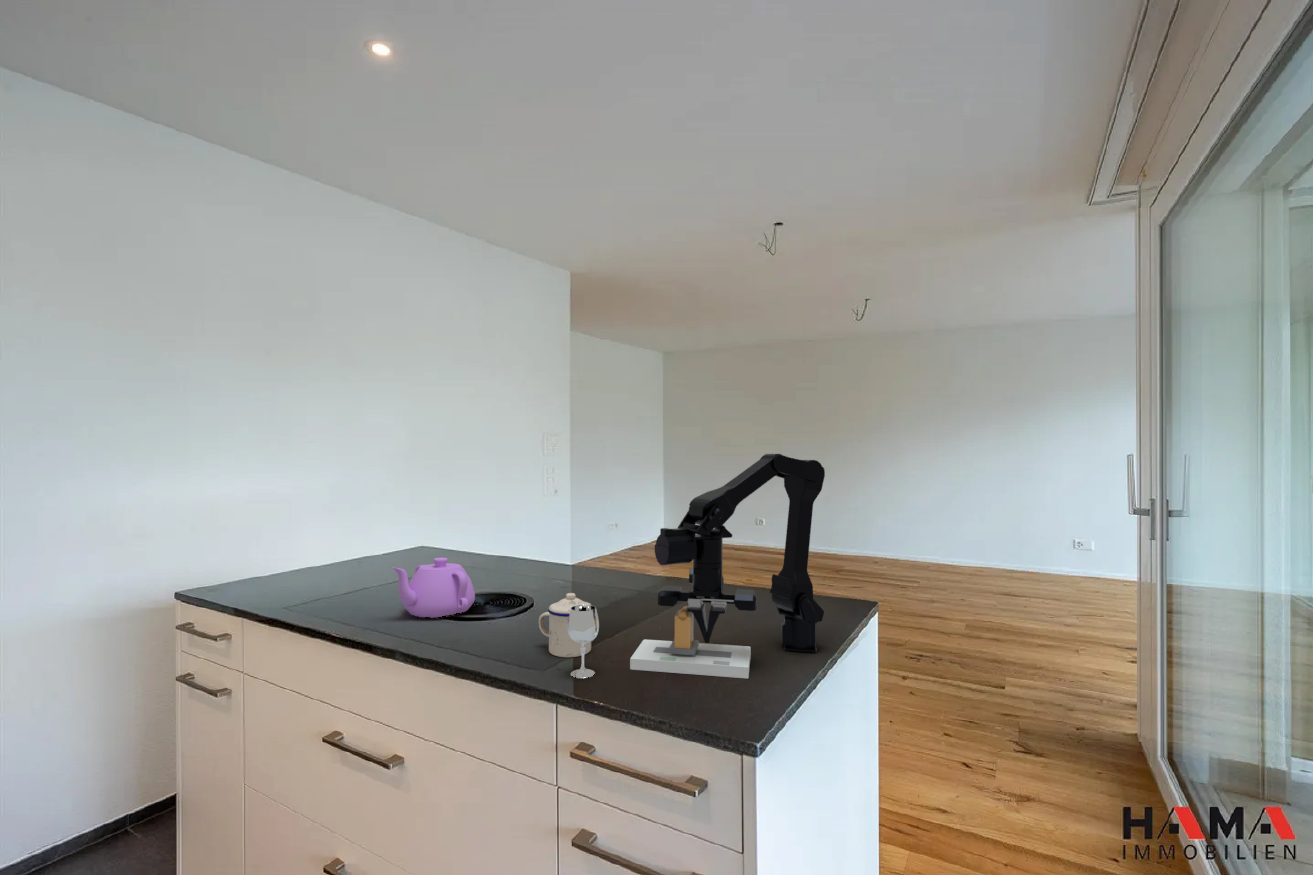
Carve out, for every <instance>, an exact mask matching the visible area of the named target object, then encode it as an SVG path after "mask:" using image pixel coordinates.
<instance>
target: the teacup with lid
mask: <svg viewBox="0 0 1313 875" xmlns="http://www.w3.org/2000/svg"><path fill="white" fill-rule="evenodd" d="M577 605H592V603H590V602H587V601H583V600H582V599H580V598H578V597H577V596H576V594H575V593H574V592H568V593H566V594H565V598H561V599H560V600H559V601H557V602H554V603H552V604H550V605H549V606H548V609H547V611H546V612H543V613H541V614H540V616H539V617H538V627H539V629H540V632H541V633H542V634H543V635H544V636H545V637H548V652H549V653H550V654H551V655H552V656H554V657H555V656H556V657H559V658H577V657H582V656H581V651H580V647H581V645H582V644H581V643H577V642H575V641H573V640H572V639H571V638H570V637H569V634H568V618H569V614H570V610H571V607H573V606H577ZM545 617H549V618H548V619H549V620H548V621H549V622H548V625H549V626H548V630H547V629H546V627H545V624H544V622H545V621H544V619H545ZM585 646H586V651H585V655H586V654H588V653H590V652H591V650H592V641H590V642H588V643H585Z"/></svg>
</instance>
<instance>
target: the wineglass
mask: <svg viewBox="0 0 1313 875" xmlns="http://www.w3.org/2000/svg"><path fill="white" fill-rule="evenodd" d="M599 629H600V621H599V615H598V611H597V607H596V606H595V605H592V604H591V605H577V606H573V607H571V610H570V614H569V618H568V634H569V637H570V638H571V639H572V640H573V641H575V642H577V643H581V644H582V645H581V647H580V651H581V656H580V657H581V665H580V668H579V669H574V670H573V671H571V672H570V677H572V676H573V678H575V677H576V678H575V679H588V677H589V678H591V677H594V676H595V675H596V672H595V671H594V669H593V670H592V669H589V668H586V667H585V666H586V665H585V655H586V654H585V651H586V646H585V643H588V642H590V641H591V642H593V641H594V640H595V639H596V638H597V636H598V634H599ZM594 674H595V675H594ZM593 675H594V676H593Z"/></svg>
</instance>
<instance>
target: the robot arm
mask: <svg viewBox="0 0 1313 875" xmlns="http://www.w3.org/2000/svg"><path fill="white" fill-rule="evenodd" d="M825 474H826V471H825V467H823V465H822V464H821V462H819V461H818V460H817V459H798V458H794V457H789V456H786V455H783V454H781V453H765V454H764V455H762V456H761V457H760V458H759V460H757V461H756V462H754V463H753V464H751V465H750V466H749V467H748V468H747V469H745V470H744V471H742V472H740V473H739V474H738V475H737V476H735V477H733V478H732V479H731V480H729V481H728V482H727V483H725V484H724V485H723V486H721V487H718V488H715V489H711V490H708V491H707V492H703V493H702V494H700V495H697V496H696V497H694V498H693V499H692V500H691V501H689V502H690V503H689V504H688V505H689V506H688V510H687V512H686V514H685V515H684V517H683V518H682V520H681V521H680V523H679V524H678V527H677V528H669V527H661V528H660V532H659V535H658V536H657V538H656V541H655V544H654V556H655V558H656V561H657V563H658V564H659V565H660V566H668V565H669V566H670V565H683V564H690V563H691V562H692V567H690V568H689V571H688V572H689V574H688V584H690V586H691V585H692V591H686V590H683V589H682V586H680V585H679V586H678V585H664V586H663V587H661V589H660V590H659V592H658V594H657V606H659V607H662V606H663V607H675V605H676V604H678V602H687V606H688V608H687V611H688V612H692V613H693V615H694V618H695V620H696V623H697V624H698V627H699V629H700V632H701V635H702V638H703V641H704V643H705V644H710V641H711V638H712V635H713V630H714V628H715V625H716V624H717V621H718V618H719V617H720V614H721V615H722V614H723V615H725V614H726V611H727V608H728V604H729V605H731V604H732V605H734V607H735V608H736V609H737V610H738V611H748V612H749V611H751V612H753V611H756V610H757V592H756V591H755V590H754V589H743V588H742V589H741V588H736V590H735V593H724V590H725V588H724V586H725V585H724V583H725V581H724V580H725V578H724V576H723V539H728V538H729V539H730V538H732V537H733V533H731V532H730V531H729V530H728V529H727V528H726V526H725V525H724V524H725V523H727V521H728V520H729V519H730V518H731V517H732V516H733V515H734V514H735V510H736V509H737V506H739V505H740V504H741V502H743V501H744V500H745V499H746V498H748V497H749V496H751V495H752V494H754V493H755V492H756V491H758V490H759V489H760V488H761V487H762V486H764V485H765V484H766V483H768V482H769V481H770V480H772V479H773V478H774V477H778V478H781V479H783V484H784V486H783V487H784V489H785V491H786V495H787V497H788V501H789V504H788V512H787V513H788V514H787V524H786V534H785V545H784V555H783V556H784V557H783V565H782V568H781V570H780V571H779V573H778V574H772V576H771V587H770V590H769V594H770V595H771V599H772V603H774V605H775V606H776V610H777V613H778V614H779V615H782V616H784V621H783V622H781V645H782V646H784V647H783V648H784V649H783V650H784V651H789V652H790V651H791V652H802V653H817V652H818V650H817V645H816V641H817V640H816V635H817V634H816V631H817V630H816V627H817V623H818V622H819V623H821V622H823V618H824V614H825V611H824V610H823V608H822V607H821V606H820V605H819V603H817V602H816V600H815V599H814V585H813V582H812V580H811V578H810V575H809V572H808V566H809V565H808V564H809V554H810V552H809V551H810V545H811V544H810V542H811V541H810V540H811V530H812V521H813V520H812V519H813V509H814V503H815V501H816V499H817V497H818V496H819V495H820V493H821V492H822V490H823V485H824V481H825V477H826V476H825ZM706 603H709V604H710V603H711V606H710V609H709V615H708V621H707V615H706V614H707V613H706ZM707 622H708V623H707Z"/></svg>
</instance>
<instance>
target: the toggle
mask: <svg viewBox="0 0 1313 875" xmlns="http://www.w3.org/2000/svg"><path fill="white" fill-rule="evenodd" d="M687 608H688V605H685V606H683V607H682V608H681V609H678V610H677V612H676V614H675V615H674V638H673V640H672V641H673V642H672V644H671V645H670V647H669V654H682V655H695V654H696V651H697V649H698V646H699V643H700V640H698V639H697V640H695V639H694V629H695V628H694V627H695V625H694V624H695V621H694V618H695V617H694V615H693V613H692V612H688V611H687Z"/></svg>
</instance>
